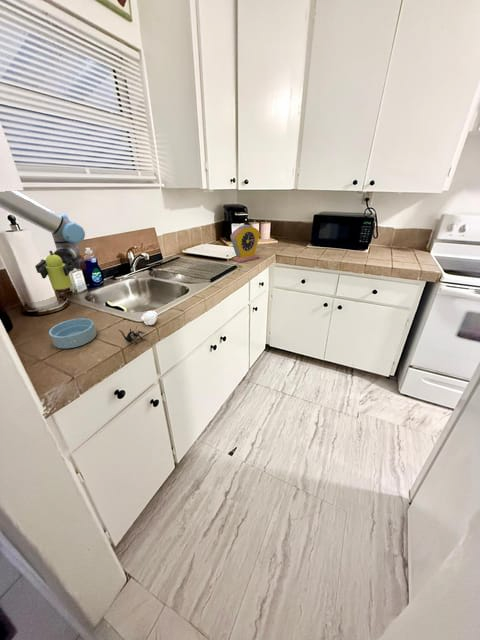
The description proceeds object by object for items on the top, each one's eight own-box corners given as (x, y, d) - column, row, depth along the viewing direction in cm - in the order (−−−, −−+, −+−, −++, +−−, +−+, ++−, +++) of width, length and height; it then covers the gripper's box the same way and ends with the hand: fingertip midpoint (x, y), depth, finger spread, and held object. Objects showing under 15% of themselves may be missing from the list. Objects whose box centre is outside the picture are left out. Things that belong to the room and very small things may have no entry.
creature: (136, 335, 89) (116, 341, 82) (136, 320, 87) (116, 325, 80) (153, 341, 86) (134, 348, 79) (154, 325, 84) (134, 331, 77)
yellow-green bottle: (49, 289, 93) (35, 252, 87) (61, 283, 98) (49, 248, 92) (64, 290, 93) (51, 252, 86) (75, 284, 98) (64, 248, 92)
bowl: (44, 348, 80) (39, 335, 78) (71, 328, 91) (67, 317, 88) (80, 351, 79) (76, 338, 76) (104, 331, 89) (101, 319, 87)
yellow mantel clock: (237, 263, 163) (237, 227, 153) (228, 260, 169) (227, 225, 159) (262, 257, 176) (263, 224, 166) (252, 255, 182) (253, 222, 172)
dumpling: (162, 321, 96) (160, 313, 93) (151, 329, 92) (149, 321, 90) (148, 314, 98) (146, 306, 95) (138, 322, 95) (135, 313, 92)
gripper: (92, 263, 112) (88, 280, 93) (40, 269, 106) (24, 287, 87) (88, 246, 109) (82, 259, 90) (33, 250, 102) (15, 265, 83)
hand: (54, 273), depth 88 cm, fingers closed on yellow-green bottle, 6 cm apart
